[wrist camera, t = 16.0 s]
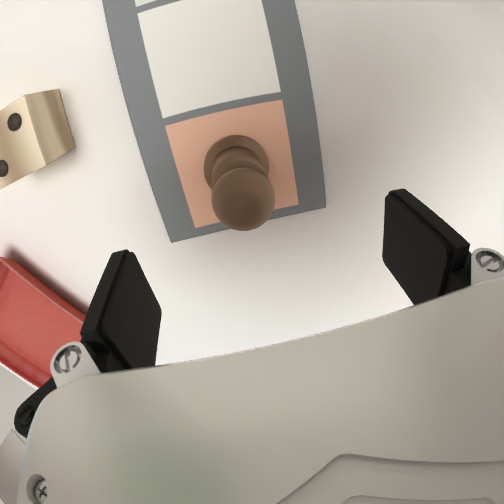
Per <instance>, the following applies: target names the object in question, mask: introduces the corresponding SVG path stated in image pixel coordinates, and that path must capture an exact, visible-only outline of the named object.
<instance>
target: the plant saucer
mask: <svg viewBox="0 0 504 504" xmlns="http://www.w3.org/2000/svg"><path fill="white" fill-rule="evenodd" d="M85 317H86V315H85V314H84V313H82V312H81V311H80V310H78V309H77V308H75V307H74V306H73V305H71V304H70V303H68V302H67V301H66V300H64V299H63V298H62V297H60V296H59V295H58V294H56V293H55V292H54V291H52V290H51V289H50V288H48V287H47V286H46V285H45V284H43V283H42V282H41V281H40V280H38V279H37V278H36V277H35V276H33V275H32V274H31V273H30V272H29V271H27V270H26V269H25V268H24V267H23V266H21V265H20V264H19V263H17V262H15V261H13V260H10V259H7V258H3V257H0V362H1V363H2V364H4V365H5V366H6V367H8V368H9V369H11V370H12V371H14V372H15V373H17V374H18V375H19V376H21V377H22V378H24V379H25V380H27V381H29V382H30V383H32V384H33V385H35V386H37V387H38V388H40V387H41V386H42V385H43V384H45V383H46V382H47V381H48V380H49V379H50V378H51V377H52V373H51V370H50V363H51V360H52V357H53V356H54V354H55V353H56V351H57V350H58V349H59V348H61V347H62V346H63V345H65V344H67V343H70V342H80V341H81V338H82V336H81V335H80V331H81V328H82V325H83V323H84V320H85Z"/></svg>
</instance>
